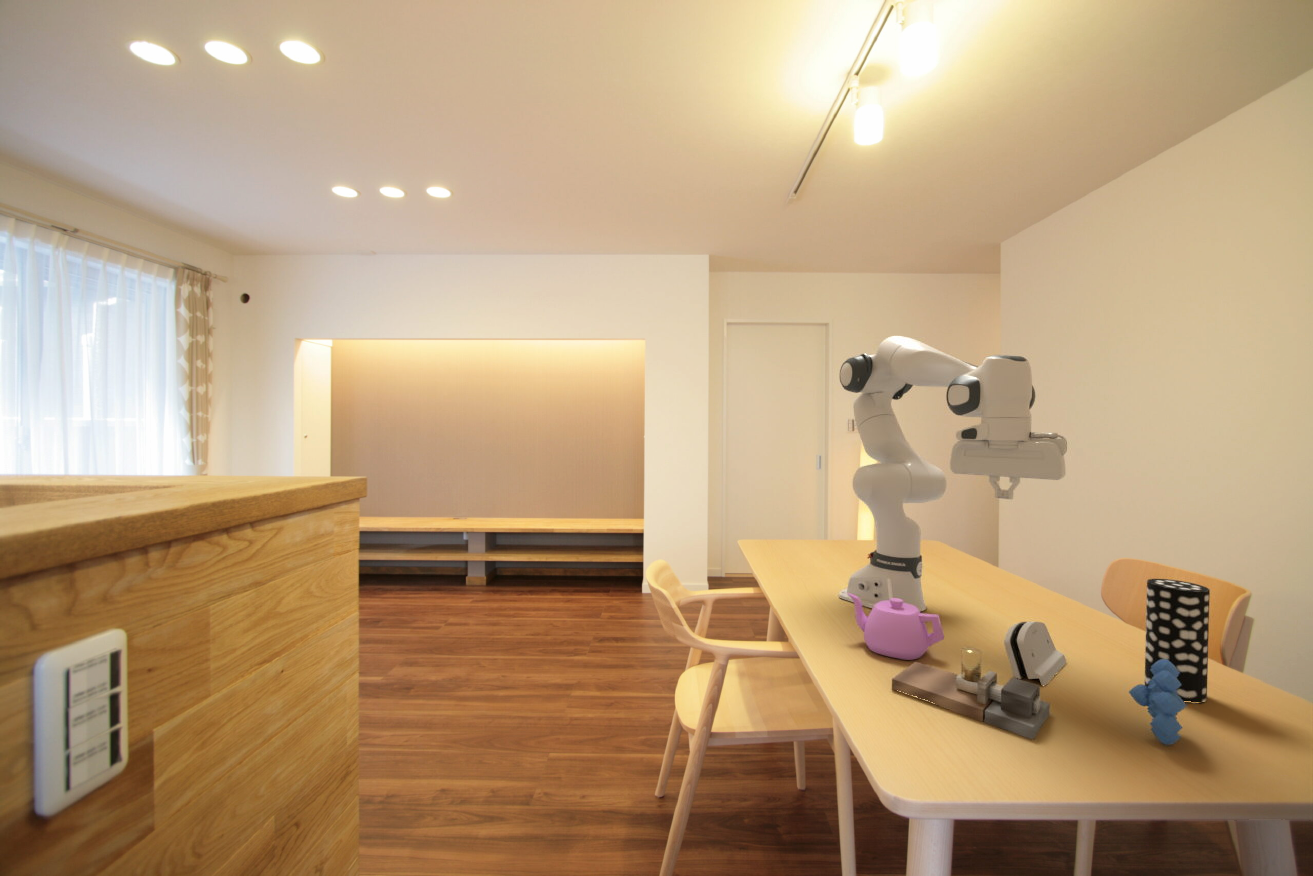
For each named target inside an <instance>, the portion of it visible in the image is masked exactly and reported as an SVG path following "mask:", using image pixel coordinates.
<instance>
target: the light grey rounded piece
mask: <svg viewBox="0 0 1313 876" xmlns="http://www.w3.org/2000/svg"><path fill="white" fill-rule="evenodd" d="M1003 645H1004V647H1005V651H1006V654H1007V658H1008V662H1009V664H1010V668H1011V671H1012V674H1013V678H1014V677H1016V679H1017V678H1018V679H1019V680H1022V678H1024V677H1026V678H1027V679H1028V680H1034V679H1035V680H1036V679H1039V681H1040V685H1041V686H1042V685H1044V686H1045V685H1046V684H1047V685H1048V684H1049V683H1050V682H1051V681H1052V680H1053V679H1054V678H1053V676H1054V675H1055V674H1056V673H1057V672H1058V671H1059V670H1060V669H1061V668H1062V667H1063V666H1064V665H1065V664H1066V662H1067V659H1066V656H1065V655H1064V653H1062V652H1061V651H1059V650H1058V649H1057V648H1056V647H1055V644H1054V642H1053V640H1052V637H1051V635H1050V632H1049V630H1048V628H1047V625H1046V624H1045V623H1044V622H1042V621H1036V620H1035V621H1034V620H1030V621H1020V622H1018V623H1014V624H1012V625H1011V626H1010V627H1009V629H1008V630H1007V631H1006V633H1005V637H1004V638H1003ZM1066 665H1067V664H1066ZM1066 665H1065V666H1066ZM1065 666H1064V667H1065ZM1064 667H1063V668H1064ZM1063 668H1062V669H1063ZM1062 669H1061V670H1062ZM1061 670H1060V671H1061ZM1060 671H1059V672H1060ZM1059 672H1058V673H1059ZM1058 673H1057V674H1058ZM1052 678H1053V679H1052ZM1051 679H1052V680H1051ZM1050 680H1051V681H1050ZM1049 681H1050V682H1049ZM1048 682H1049V683H1048ZM1047 685H1046V686H1047ZM1044 686H1043V687H1044ZM1046 686H1045V687H1046Z"/></svg>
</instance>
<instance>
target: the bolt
mask: <svg viewBox="0 0 1313 876" xmlns="http://www.w3.org/2000/svg"><path fill="white" fill-rule="evenodd" d="M960 662H961V664H960V665H961V666H960V668H961V669H960V671H961V672H960V673H958V674H957V675H958V676H957V677H956V688H958V689H961V690H964V691H967V692H970V693H973V694H976V695H977V689H978V681H979V680H980V679H981V678H982V651H981V650H980V649H977V648H975V647H970V646H964V647H961V661H960ZM1004 686H1005V685H1003V684H998V683H997V684H996V683H993V682H992V683H991V684H990V685H989V686H988V699H991V700H995V701H998V702H1001V689H1002V688H1003V687H1004ZM1040 700H1041V696H1035V697H1034V698H1033V700H1032V713H1034V714H1037V713H1038V712H1039V710H1040Z"/></svg>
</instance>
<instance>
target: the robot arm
mask: <svg viewBox="0 0 1313 876" xmlns="http://www.w3.org/2000/svg"><path fill="white" fill-rule="evenodd" d="M839 381H840V385H841V386H842V388H843V389H844V390H845V391H848V392H851V393H855V394H858V393H861V394H859V395H858V396H856V398H855V400H854V402H853V407H852V409H853V415H854V416H853V417H854V420H855V421H854V422H855V425H856V429H857V431H858V435H859V437H860V439H861V443H862V445H863V447H864V448H863V449H864V451H865V453H866V454H867V456H869V458H872V459H873V460H875V461H877V462H879V463H872V464H867V465H864V466H860V467H858V469H857V470H856V471H855V473H854V475H853V477H852V489H853V492H854V494H855V495H856V497H857V498H858V499H859V500H860V501H861V502H862V503H864V504H865V505H866V507H868V509H869V511H870V512H871V514H872V517H873V520H874V523H875V533H876V549H874V551H871V552H870V553H869V554H867V558H866V559H869V563H868V564H866V565H865V566H863V567H860V568H859V569H858V570H857V571H854V572H853V573H852V574H851V575H850V577H849V578H848V582H847V587H846V588H844V589H842V590H840V591H839V594H838V598H839V599H842V600H845V601H848V602H852V603H854V601H853V600H852V598H851V597H850V596H849V595H848V594H847V593H851V594H853V595H855V596H857V597H858V598H859V599H860V601H861V603H862V607H866V608H869V609H871V610H872V609H873V607H874V606H875V604H877V603H878V602H880V601H885V600H888V601H890V599H891V598H898V599H901V600H903V603H907V604H911V605H914V606H916V607H917V608H918V609H919V611H920V612H923V611H926V609H927V606H926V603H925V597H924V594H923V587H922V573H923V556H922V555H921V541H922V540H921V531H922V530H921V527H920V526H919V523H917V522H916V521H915V520H914V519H912V518H910V517H908V516H907V514H906V513H905V511H904V504H925V503H928V502H933V501H936V500H939V499H941V498H942V497H943V495H944V494H945V493H946V489H947V478H946V475H945V473H944V472H943V470H942V469H941V468H939V466H936V465H934V464H933V463H931V462H929V461H928V460H926V459H925V458H923V457H922V456H921V455H920V454H919V453H918V452H917V451H916V450H915V449H914V448H913V447H912V446H911V444H910V443H909V441H908V440H907V439H906V437H905V434H904V433H903V431H902V429H901V426H900V423H899V421H898V419H897V417H896V414H895V412H894V409H893V406H892V400H896V401H898V400H901V399H902V398H903V396H904V395H905V394H906V393H908V392H909V391H910V390H911V389H912V388H913V386H915V387H931V388H932V387H937V388H939V387H940V388H947V389H946V394H945V395H946V396H945V397H946V404H947V406H948V408H949V410H950V411H951V412H952V413H953V414H954V415H956V416H961V417H966V418H980V423H979V424H976V425H972V426H969V427H966V428H961V429H959V430H957V431H956V433H955V438H956V439H957V441H956V442H955V443H954V444H953V446H952V447H951V448H952V449H951V455H950V461H949V469H950V470H951V472H952V473H953V474H956V475H958V474H959V475H974V476H984V477H985V476H988V477H989V478H988V482H989V483H990V485H991V486H992V489H993V490H994V497H995V499H1002V500H1003V499H1004V500H1013V499H1014V491H1015V490H1016V488H1017V487H1018V485H1020V483H1021V479H1035V480H1036V479H1037V480H1053V481H1060V480H1061V479H1063V478H1064V477H1065V476H1066V463H1065V462H1066V461H1065V456H1064V455H1065V454H1066V452H1067V450H1068V441H1067V439H1066V437H1064V436H1063V435H1060V434H1058V432H1049V433H1048V432H1032V413H1031V409H1032V407H1033V406H1034V404H1035V401H1036V390H1035V388H1034V386H1033V375H1032V369H1031V365H1030V362H1029V360H1028V359H1027V358H1025V357H1023V356H1019V355H1005V354H1004V355H1003V354H1002V355H1001V354H993V355H989V356H987V357H985V359H984V360H983V361H982V363H981V364H980V365H979V366H977V365H975V364H972V363H969V362H966V361H964V360H961V359H958V358H957V357H954V356H952V355H949V354H947V353H945V352H944V351H941V350H939V349H936V348H935V347H933V346H931V345H929V344H926V343H924V342H922V341H920V340H917V339H915V338H912V337H907V336H902V335H892V336H889V337H887V338H885V339H884V340H882V342H880V344H879V346H878V348H877V350H876V353H874V354H867V353H865V352H864V353H862V354H859V355H855V356H852V357H850V358H849V357H848V358H847V359H846V360H845V361H844V362H843V363H842V365H841V366H840V369H839ZM1000 477H1004V478H1009V482H1008V483H1010V484H1011V485H1010V486H1009V488H1008V489H1002V488H1001V487H1000V484H999V483H998V482H1000Z"/></svg>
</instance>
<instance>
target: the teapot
mask: <svg viewBox="0 0 1313 876" xmlns="http://www.w3.org/2000/svg"><path fill="white" fill-rule="evenodd" d="M847 594H848V595H849V596H850V597H851V598H852V600H853V601H854V602H853V604H854V613H855V621H856V623H857V626H858V627H859V629H860V630H862V632H863V639H864V642H865V643H866V646H867V647H868V648H869V650H870V651H871V652H874V653H875V654H878V655H881V656H886V657H889V658H894V659H899V660H903V661H905V660H906V661H914V660H917V659H920V658H921V657H922V656H923V655H924V654H925V653H926V652H927V650H928V649H929V647H931V646H933V645H935V644H937V643H939V642H941V641H944V639H945V634H944V630H943V627H942V623H941V619H940V616H939V614H937V613H936V614H935V613H922V612H921V611H919V609H918V608H917V607H916V606H914V605H911V604H907V603H903V600H901V599H898V598H891V599H890V601H888V600H885V601H880V602H878V603H877V604H875V606H874V607H873V609H872V608H871V611H870V612H869V614H868V616H867V615H866V614H865V612H864V610H863V605H862V603H861V601H860V599H859V598H858V597H857V596H855V595H853V594H851V593H847ZM925 622H931V625H932V626H931V627H932V632H931V633H928V629H927V626H926V623H925Z"/></svg>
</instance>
